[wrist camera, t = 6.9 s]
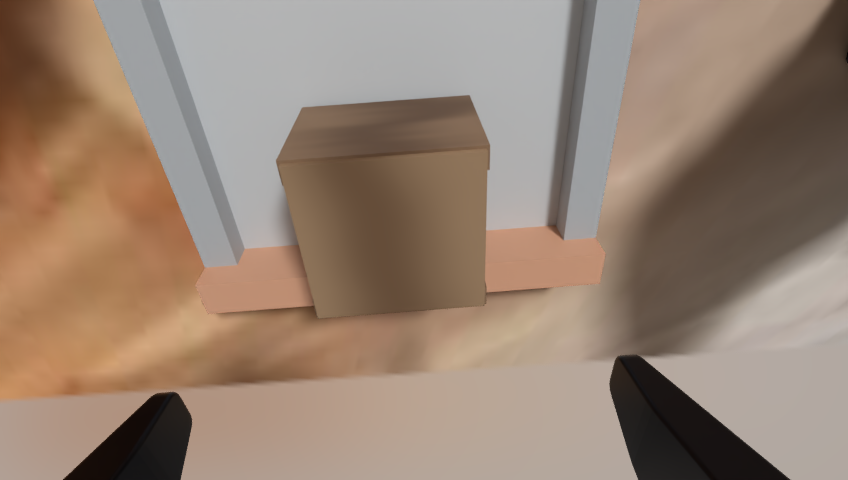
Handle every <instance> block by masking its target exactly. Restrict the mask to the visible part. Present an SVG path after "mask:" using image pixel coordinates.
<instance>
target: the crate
mask: <svg viewBox="0 0 848 480" xmlns="http://www.w3.org/2000/svg"><path fill="white" fill-rule="evenodd" d="M276 164H277V168H278V172H279V176H280V179H281V183H282V186H284V190H285V194H286V197H287V201H288V205H289V209H290V213H291V217H292V220H293V224H294V228H295V232H296V236H297V240H298V243H299V247H300V251H301V255H302V259H303V263H304V266H305V270H306V274H307V278H308V282H309V286H310V289H311V293H312V297H313V300H312V301H313V305H314V309H315V312H316V316H317V317H318V319H319V318H332V317H345V316H358V315H371V314H384V313H396V312H409V311H422V310H435V309H448V308H461V307H474V306H484V304H486V292H487V287H486V283H485V256H486V212H487V170H490V143H489V141H488V138H487V136H486V134H485V131H484V129H483V126H482V124H481V121H480V119H479V117H478V114H477V112H476V109H475V107H474V105H473V102H472V100H471V97H470V95H463V96H450V97H436V98H423V99H409V100H395V101H382V102H368V103H355V104H341V105H328V106H314V107H302V109H301V111H300V113H299V115H298V117H297V119H296V121H295V123H294V125H293V127H292V129H291V131H290V133H289V135H288V137H287V139H286V141H285V143H284V145H283V147H282V149H281V151H280V153H279V155H278V157H277V159H276Z"/></svg>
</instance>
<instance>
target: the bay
mask: <svg viewBox="0 0 848 480" xmlns="http://www.w3.org/2000/svg"><path fill="white" fill-rule="evenodd" d="M93 1H94V3H95V5H96V8H97V10H98V13H99V15H100V17H101V20H102V22H103V25H104V27H105V29H106V32H107V34H108V37H109V39H110V41H111V44H112V46H113V48H114V51H115V53H116V56H117V58H118V60H119V63H120V65H121V68H122V70H123V72H124V75H125V77H126V80H127V82H128V84H129V87H130V89H131V92H132V94H133V96H134V99H135V101H136V104H137V106H138V108H139V111H140V113H141V115H142V118H143V120H144V123H145V125H146V127H147V130H148V132H149V135H150V137H151V139H152V142H153V144H154V147H155V149H156V151H157V154H158V156H159V159H160V161H161V163H162V166H163V168H164V170H165V173H166V175H167V178H168V180H169V182H170V185H171V187H172V190H173V192H174V194H175V197H176V199H177V202H178V204H179V206H180V209H181V211H182V214H183V216H184V218H185V221H186V223H187V226H188V228H189V230H190V233H191V235H192V237H193V240H194V242H195V245H196V247H197V249H198V252H199V254H200V257H201V259H202V261H203V264H204V266H205V269H204V271H203V272H202V274H201V276H200V278H199V280H198V282H197V283H196V285H195V286H196V288H197V291H198V293H199V295H200V297H201V300H202V302H203V304H204V306H205V309H206V311H207V313H208V314H213V313H226V312H239V311H252V310H265V309H278V308H291V307H304V306H314V305H313V301H312V300H313V297H312V293H311V289H310V286H309V282H308V278H307V274H306V270H305V266H304V263H303V259H302V255H301V251H300V247H299V243H298V240H297V236H296V232H295V228H294V224H293V220H292V217H291V213H290V209H289V205H288V201H287V197H286V194H285V190H284V186H282V183H281V179H280V176H279V172H278V168H277V164H276V159H277V157H278V155H279V153H280V151H281V149H282V147H283V145H284V143H285V141H286V139H287V137H288V135H289V133H290V131H291V129H292V127H293V125H294V123H295V121H296V119H297V117H298V115H299V113H300V111H301V109H302V107H314V106H328V105H341V104H355V103H368V102H382V101H395V100H409V99H423V98H436V97H450V96H463V95H470V97H471V100H472V102H473V105H474V107H475V109H476V112H477V114H478V117H479V119H480V121H481V124H482V126H483V129H484V131H485V134H486V136H487V138H488V141H489V143H490V170H487V212H486V256H485V283H486V287H487V292H498V291H511V290H524V289H537V288H550V287H563V286H576V285H589V284H600V280H601V275H602V270H603V265H604V261H605V256H606V254H605V252H604V250H603V249H602V247H601V246H600V244H599V242H598V241H597V239H596V233H597V228H598V222H599V217H600V212H601V206H602V201H603V196H604V190H605V185H606V180H607V174H608V169H609V164H610V158H611V153H612V148H613V142H614V137H615V132H616V126H617V121H618V116H619V110H620V105H621V100H622V94H623V89H624V84H625V78H626V73H627V68H628V62H629V57H630V52H631V46H632V41H633V36H634V30H635V25H636V20H637V14H638V9H639V4H640V0H93Z"/></svg>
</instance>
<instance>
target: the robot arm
mask: <svg viewBox="0 0 848 480" xmlns="http://www.w3.org/2000/svg"><path fill="white" fill-rule="evenodd" d="M846 61H847V63H848V53H847V57H846ZM610 391H611V395H612V399H613V402H614V405H615V409H616V412H617V415H618V419H619V422H620V426H621V429H622V432H623V436H624V439H625V442H626V446H627V449H628V452H629V455H630V458H631V462H632V465H633V467H634V470H635V472H636V475H637V477H638V480H790V479H789V478H788V477H786V476H785V475H784V474H783V473H782V472H780V471H779V470H778V469H777V468H775V467H774V466H773V465H772V464H771V463H769V462H768V461H767V460H766V459H764V458H763V457H762V456H761V455H760V454H758V453H757V452H756V451H755V450H753V449H752V448H751V447H750V446H749V445H747V444H746V443H745V442H744V441H743V440H741V439H740V438H739V437H738V436H736V435H735V434H734V433H733V432H732V431H730V430H729V429H728V428H727V427H725V426H724V425H723V424H722V423H721V422H719V421H718V420H717V419H716V418H715V417H713V416H712V415H711V414H710V413H709V412H707V411H706V410H705V409H704V408H702V407H701V406H700V405H699V404H697V403H696V402H695V401H694V400H692V399H691V398H690V397H689V396H688V395H687V394H685V393H684V392H683V391H682V390H680V389H679V388H678V387H677V386H676V385H674V384H673V383H672V382H671V381H670V380H668V379H667V378H666V377H665V376H663V375H662V374H661V373H660V372H658V371H657V370H656V369H655V368H654V367H653V366H651V365H650V364H649V363H648V362H646V361H645V360H644V359H643V358H641V357H640V356H638V355H622V356H618V357H617V358H616V360H615V363H614V366H613V370H612V374H611V378H610ZM191 427H192V418H191V415H190V413H189V411H188V409H187V408H186V406H185V404H184V402H183V401H182V399H181V398H180V396H179V394H177V393H176V392H167V393H157V394H155V395H153V396H152V397H151V398H149V399H148V400H147V401H146V402H145V403H144V404H143V405H142V406H141V407H140V408H139V409H137V410H136V411H135V412H134V413H133V414H132V415H131V416H130V417H129V418H128V419H127V420H126V421H125V422H124V423H123V424H122V425H120V427H118V428H117V429H116V430H115V431H114V432H113V433H112V434H111V435H110V436H109V437H108V438H107V439H106V440H105V441H104V442H102V443H101V444H100V445H99V446H98V447H97V448H96V449H95V450H94V451H93V452H92V453H91V454H90V455H89V456H88V457H86V458H85V459H84V460H83V461H82V462H81V463H80V464H79V465H78V466H77V467H76V468H75V469H74V470H73V471H72V472H71V473H69V474H68V476H66V477H65V478H64V479H63V480H181V475H182V470H183V465H184V461H185V456H186V451H187V446H188V442H189V437H190V432H191Z"/></svg>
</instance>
